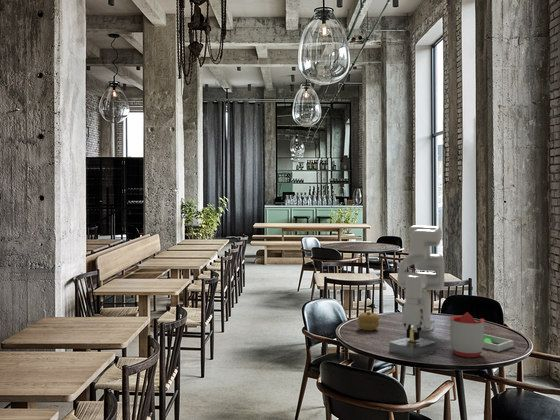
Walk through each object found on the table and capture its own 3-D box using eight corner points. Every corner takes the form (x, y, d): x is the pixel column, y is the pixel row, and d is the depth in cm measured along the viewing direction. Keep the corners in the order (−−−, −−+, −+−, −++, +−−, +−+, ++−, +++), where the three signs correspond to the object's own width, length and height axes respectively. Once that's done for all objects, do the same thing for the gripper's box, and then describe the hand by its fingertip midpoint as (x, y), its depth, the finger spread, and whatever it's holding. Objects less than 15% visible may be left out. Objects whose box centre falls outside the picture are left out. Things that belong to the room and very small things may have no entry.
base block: (412, 344, 276) (412, 335, 276) (436, 351, 265) (436, 341, 265) (389, 351, 265) (389, 341, 265) (412, 358, 254) (412, 348, 254)
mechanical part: (492, 347, 272) (492, 331, 272) (479, 346, 274) (479, 330, 273) (489, 341, 284) (489, 325, 284) (477, 340, 285) (477, 325, 285)
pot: (376, 327, 312) (376, 309, 311) (381, 332, 300) (381, 314, 300) (356, 327, 311) (356, 309, 311) (359, 332, 300) (359, 314, 299)
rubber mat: (411, 335, 293) (411, 334, 293) (426, 339, 285) (426, 338, 285) (399, 339, 287) (399, 338, 287) (414, 343, 279) (414, 342, 279)
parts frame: (476, 337, 289) (477, 332, 289) (513, 346, 274) (513, 340, 274) (461, 342, 280) (461, 336, 280) (498, 351, 265) (498, 345, 265)
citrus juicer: (493, 355, 259) (494, 313, 258) (469, 361, 250) (470, 317, 249) (466, 347, 272) (466, 307, 271) (442, 352, 263) (442, 311, 262)
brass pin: (412, 348, 267) (412, 328, 267) (417, 350, 265) (417, 329, 264) (408, 350, 265) (408, 329, 265) (413, 351, 263) (413, 330, 263)
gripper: (432, 302, 260) (432, 341, 261) (404, 297, 273) (403, 333, 274) (422, 304, 255) (422, 344, 256) (394, 299, 268) (394, 336, 269)
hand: (412, 338), depth 265 cm, fingers open, 3 cm apart
